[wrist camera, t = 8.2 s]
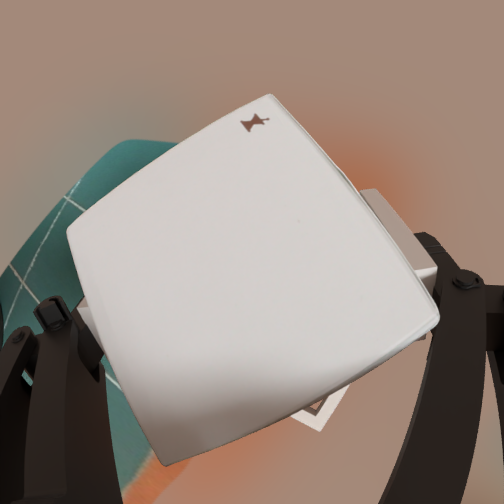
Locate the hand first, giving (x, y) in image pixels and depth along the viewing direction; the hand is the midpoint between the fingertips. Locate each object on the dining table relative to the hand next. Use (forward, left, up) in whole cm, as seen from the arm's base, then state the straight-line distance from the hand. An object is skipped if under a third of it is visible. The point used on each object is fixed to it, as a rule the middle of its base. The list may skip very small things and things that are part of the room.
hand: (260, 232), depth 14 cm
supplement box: (+2, -3, -6) cm, 6 cm away
